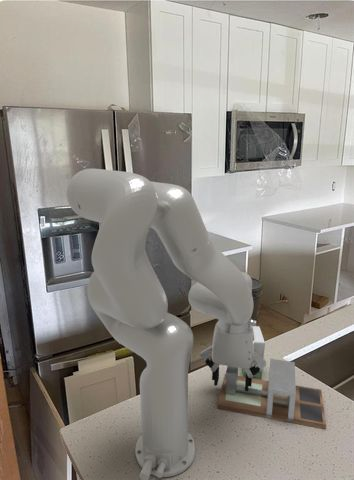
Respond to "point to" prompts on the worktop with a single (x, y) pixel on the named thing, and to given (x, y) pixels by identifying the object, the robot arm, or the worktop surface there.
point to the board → (305, 409)
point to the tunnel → (282, 384)
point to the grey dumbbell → (232, 388)
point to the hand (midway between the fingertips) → (231, 384)
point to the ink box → (257, 350)
